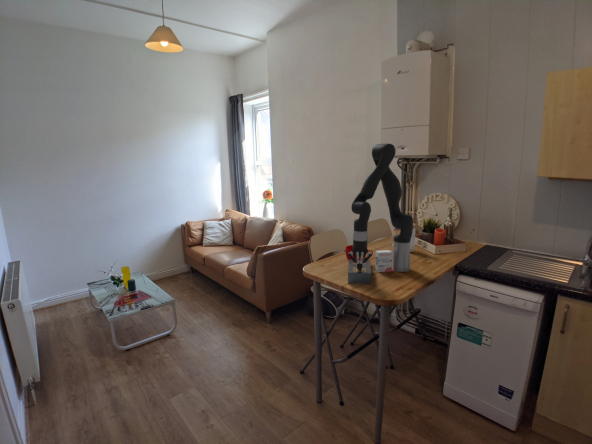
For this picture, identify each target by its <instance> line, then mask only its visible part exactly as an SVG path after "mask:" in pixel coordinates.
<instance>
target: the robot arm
mask: <svg viewBox="0 0 592 444" xmlns="http://www.w3.org/2000/svg"><path fill="white" fill-rule="evenodd" d="M395 155H396V148H395V146H394V145H393V144H392V143H377V144H374V145H373V147H372V149H371V156H372V159H373V162H374V165H375V168H374V169H373V170H372V172H370V173H369V175H368V176H367V177H366V179H365V180H364V183H363V185H362V188H361V189H360V192H359V193H358V194H357V196H356V197H355V198H354V199H353V202H352V203H351V211H352V213H353V214H355V215H359V216H358V218H356V219H354V221H353V231H352V232H353V233H352V245H353V249H352V251H351V252H349V253H348V255H349V257H350V258H351V259H352V260H353V262H354V263H357V269H358V270H361V269H362V264H363V263H366V262H367V261H368V260H370V258H371V257H372V256H373V255H372V252H370V251H369V252H368V250H369V248H368V241H369V240H368V238H369V236H368V223H369V220H370V216H371V212H372V207H371V204H370V203H369V202H368V200H371V199H373V198H374V195H375V194H376V191H377V189H378V185H379V184H380V182H381V184H382V189H383V193H384V195H385V198H386V202H387V207H388V213H389V217H390V224H391V225H392V228H393V227H395V228H397V229H401V230H400V234H399V235H395V236H394V243H393V247H392V248H393V249H392V252H393V255H392V271H394V272H398V273H399V272H400V273H405V272H406V273H407V272H410V270H411V269H410V268H411V267H410V266H411V255H410V254H411V252H410V240H411V237H412V231H413V224H414V218H413V216H412V215H410V214H408V213H403V212H402V211H401V207H400V201H401V199H402V195H403V188H402V187H401V182H400V180H399V178H398V176H397V175H396V174H395V173H394V172H393V171H392V169H391V168H390V165H391V164H392V161H393V160H394V159H395ZM353 254H354V255H355V256H356V257H357V260H356V259H355V258H354V257H353ZM365 255H366V256H365ZM364 256H365V257H366V258H365V259H364V260H363V257H364ZM359 257H360V263H359Z"/></svg>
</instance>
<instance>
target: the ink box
mask: <svg viewBox="0 0 592 444" xmlns="http://www.w3.org/2000/svg"><path fill="white" fill-rule="evenodd" d="M392 265H393V251H391V250H389V249H388V250H387V249H386V250H384V249H383V250H375V267H374V269H375V271H376V272H377V273H387V272H388V273H389V272H390V273H391V272H393V269H392Z"/></svg>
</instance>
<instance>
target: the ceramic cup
mask: <svg viewBox="0 0 592 444" xmlns="http://www.w3.org/2000/svg"><path fill="white" fill-rule="evenodd" d="M352 249H353V244H351V245H347V246H345V252H344V253H345V257H346V259H347V261H348V262H349V259H351V258H350V257H349V255H348V253H349V252H351V251H352ZM368 252H369V253H372V256H373V255H374V252H373V250H371V249H368ZM353 257H354V258H355V259H356V260H357V257H356V256H355V255H354V254H353ZM366 257H367V254H366V255H365V256H364V257H363V260H364V259H365V258H366ZM359 260H360V257H359Z"/></svg>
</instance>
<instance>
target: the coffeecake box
mask: <svg viewBox="0 0 592 444" xmlns="http://www.w3.org/2000/svg"><path fill="white" fill-rule="evenodd" d="M400 230H401V229H397V228H395V227H393V226H392V245H391V246H392V248H393V243H394V236H395V235H399V234H400ZM415 240H416V223H413V231H412V237H411V240H410V253H412V252H414V251H415V243H416V241H415Z"/></svg>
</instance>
